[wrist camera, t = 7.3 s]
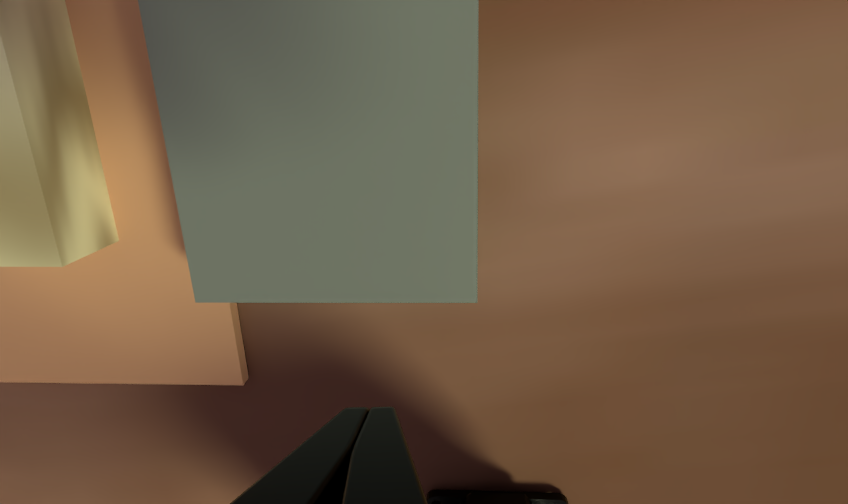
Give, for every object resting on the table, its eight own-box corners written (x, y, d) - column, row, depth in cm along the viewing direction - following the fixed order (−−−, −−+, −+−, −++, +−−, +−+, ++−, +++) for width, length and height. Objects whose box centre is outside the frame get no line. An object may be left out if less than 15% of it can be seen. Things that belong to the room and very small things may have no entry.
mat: (248, 377, 22) (243, 385, 22) (-3, 374, 23) (-15, 381, 23) (147, -248, 15) (135, -260, 15) (-208, -217, 16) (-232, -228, 16)
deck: (474, 271, 20) (477, 302, 17) (231, 272, 21) (195, 302, 18) (475, -77, 16) (478, -111, 13) (177, -60, 17) (121, -89, 14)
